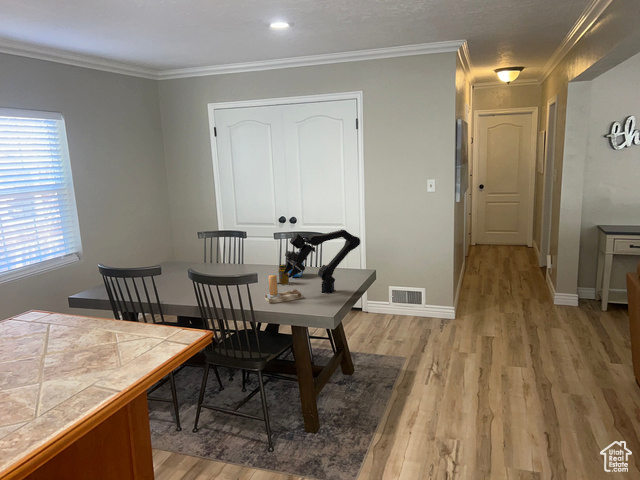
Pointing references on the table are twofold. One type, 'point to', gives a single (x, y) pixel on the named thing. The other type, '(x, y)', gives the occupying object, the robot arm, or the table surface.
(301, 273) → the alarm clock
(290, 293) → the track
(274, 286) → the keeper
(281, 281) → the condiment
